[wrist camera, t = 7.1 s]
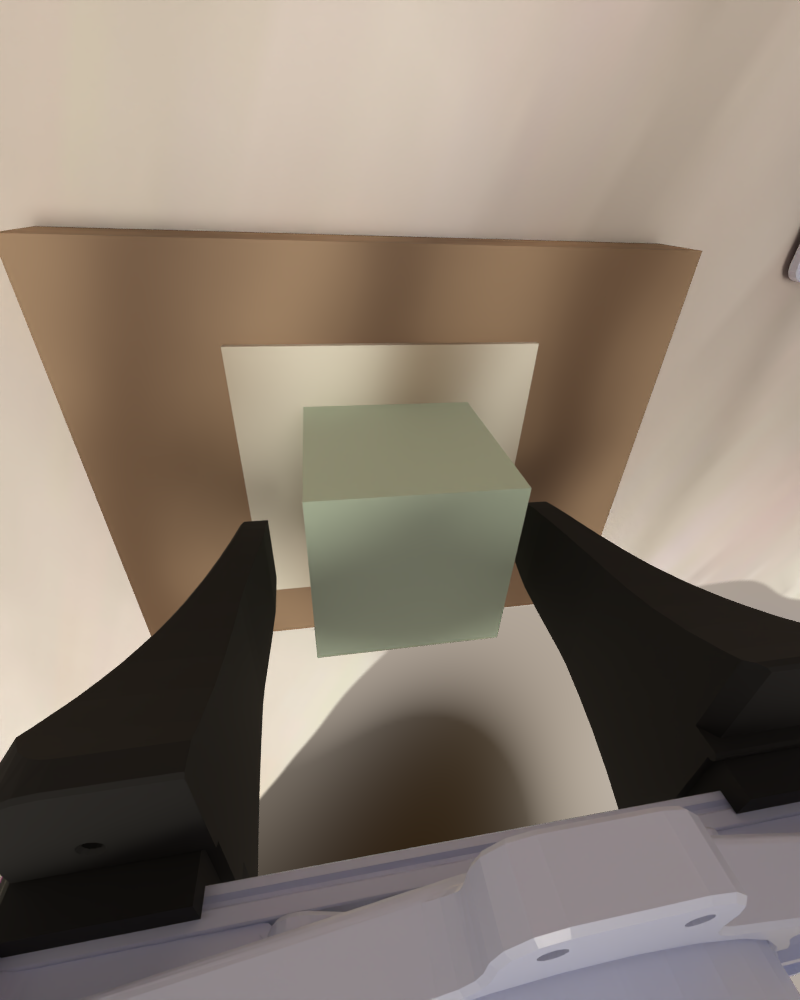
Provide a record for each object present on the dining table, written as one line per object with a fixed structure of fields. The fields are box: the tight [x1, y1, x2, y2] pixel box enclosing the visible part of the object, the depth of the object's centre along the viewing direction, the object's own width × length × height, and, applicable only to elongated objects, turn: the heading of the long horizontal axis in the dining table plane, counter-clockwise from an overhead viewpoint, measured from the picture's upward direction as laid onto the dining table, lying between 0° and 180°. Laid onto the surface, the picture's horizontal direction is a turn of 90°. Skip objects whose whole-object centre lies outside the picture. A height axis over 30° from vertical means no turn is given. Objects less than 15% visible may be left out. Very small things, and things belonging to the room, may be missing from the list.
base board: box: [0, 226, 702, 636], centre depth 16 cm, size 18×14×2 cm
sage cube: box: [302, 402, 532, 658], centre depth 13 cm, size 5×5×5 cm
